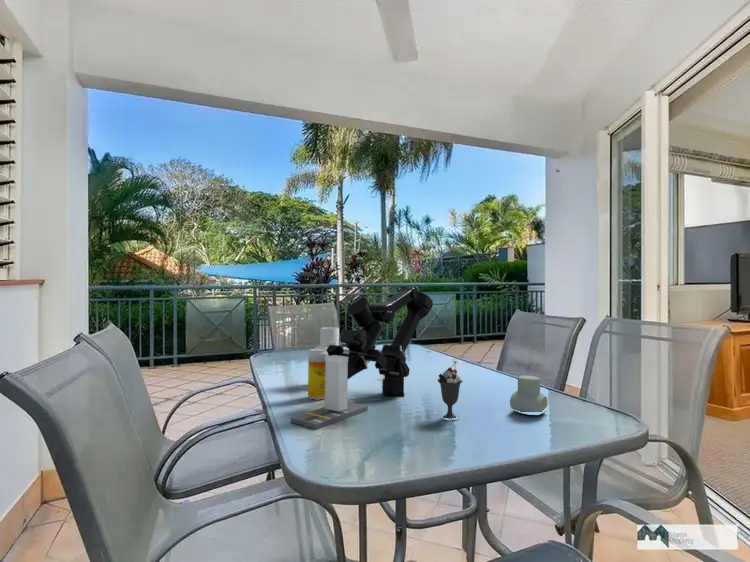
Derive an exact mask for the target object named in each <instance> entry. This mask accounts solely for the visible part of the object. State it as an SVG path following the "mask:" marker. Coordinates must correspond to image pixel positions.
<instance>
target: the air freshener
mask: <svg viewBox="0 0 750 562" xmlns="http://www.w3.org/2000/svg"><path fill="white" fill-rule="evenodd" d="M509 405H510V409H512V410H513V409H514V410H517V411H520V412H542V411H543V410H544V409H545V408H546V407H547V408H548V397H547V396H546V395H545V394H543V393H541V378H539V377H538V376H534V375H519V376H518V377H517V390H516V391H514V392H513V393H512V394H511V396H510V400H509ZM514 410H513V411H514Z"/></svg>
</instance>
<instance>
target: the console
mask: <svg viewBox="0 0 750 562" xmlns="http://www.w3.org/2000/svg"><path fill="white" fill-rule="evenodd" d="M368 410H369V407H368V405H364V404H359V403H354V402H349V401H347V409H345V410H342V411H339V412H338V411H334V410H329V409H325V406H324V407H320V408H317V409H314V410H311V411H309V412H305V413H301V414H298V415H295V416H292V417H290V419H289V421H290V422H293V423H292V424H294V423H297V424H300V425H299V426H301V425H304V426H303V427H305V426H307V427H306V428H309V427H311V428H310V429H313V428H314V429H313V430H318V429H321V428H323V427H326V426H329V425H333V424H335V423H338V422H340V421H343V420H346V419H348V418H349V419H350V418H351V417H353V416H357V415H359V414H362V413H364V412H365V413H366V412H367V411H368ZM290 422H289V423H290ZM297 424H296V425H297Z"/></svg>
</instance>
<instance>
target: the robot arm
mask: <svg viewBox="0 0 750 562" xmlns="http://www.w3.org/2000/svg"><path fill="white" fill-rule="evenodd" d="M433 305H434V302H433V299H432V298H431V297H430V296H429V295H428V294H425V293H424V292H422V291H420V290H419V289H417V288H414V287H404V288H402V289H400V291H399V292H397V293H395V294H394V295H393V296H391V297H389V298H388V299H387V300H385V301H379V302H376V303H372V304H369V302H368V299H367V298H366V297H365V298H363V297H362V298H359V299H358V300H356V301H355V302H353V303H352V304H350V305H348V307H347V308H348V309H347V312H348V313H349V315H350V317H351V319H352V320H353V321H354V323H355V325H356V326H357V327H359V328H360V329H357V330H352V329H342V330H341V333H340V335H339V336H340V337H339V342H343V343H345V347H346V348H345V349H344V348H343V346H342V345H340V344H339V345H329V347H328V349H327V350H326V351H327V353H328V354H329V356H332V355H338V356H346V357H348V377H347V381H348V380H349V379H351V378H352V377H354V376H355V375H357V374H358V373H360V372H362V371H364V370H367V369H368V367H369V366H368V365H369V363H371V362H374V367H375V368H376V369H378V373H379V375H383V376H384V378H383V379H382V393H383V396H384V397H405V378H408V377H409V376H410V367H409V366H408V364H407V362H406V361H407V357H406V350H407V348H408V346H409V344H410V342H411V340H412V337H413V335H414V334H415V331H416V330H417V328H418V326H419V324H420V321H421V320H422V319H424V318H425V317H427V316H428V315H429V313H431V310H432V308H433ZM404 307H406V310H407V311H406V312H407V314H406V316H405V317H404V319H403V321H402V323H401V325H400V327H399V329H398V331H397V333H396V335H395V337H394V339H393V341H392V343H391V344H384V345H383V346H382V347H381V349H376V347H377V346H376V345H375V344H376V341H377V340H378V338H379V337H380V336H381V337H382V336H384V337H385V330H384V327H383V326H382V325H381V324H390V323H391V322H392V321H393V320H394V319H395V317H396V313H397V312H398V311H399V310H401V309H402V308H404Z"/></svg>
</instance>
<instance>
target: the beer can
mask: <svg viewBox="0 0 750 562" xmlns="http://www.w3.org/2000/svg"><path fill="white" fill-rule="evenodd" d="M326 356H328V353H327V351H326V349H315V348H312V349H311V348H310V349H309V352H308V361H307V362H308V363H307V365H308V368H307V369H308V371H307V373H308V375H307V377H308V378H307V380H308V381H307V397H308V398H309V399H310V400H312V399H315V400H314V401H321V400H320V399H323V400H325V372H326V361H325V357H326Z"/></svg>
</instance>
